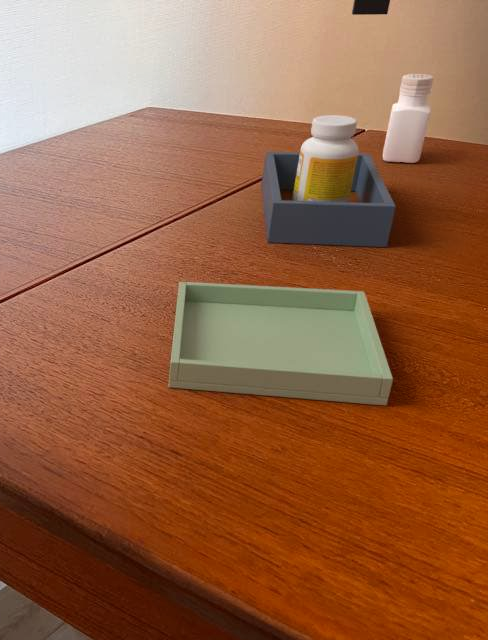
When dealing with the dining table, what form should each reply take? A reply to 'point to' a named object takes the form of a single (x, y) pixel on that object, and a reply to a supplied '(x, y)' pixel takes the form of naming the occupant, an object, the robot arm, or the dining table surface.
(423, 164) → the dining table surface
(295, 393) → the tray
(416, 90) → the salt shaker
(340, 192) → the supplement bottle
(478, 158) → the dining table surface
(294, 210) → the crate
